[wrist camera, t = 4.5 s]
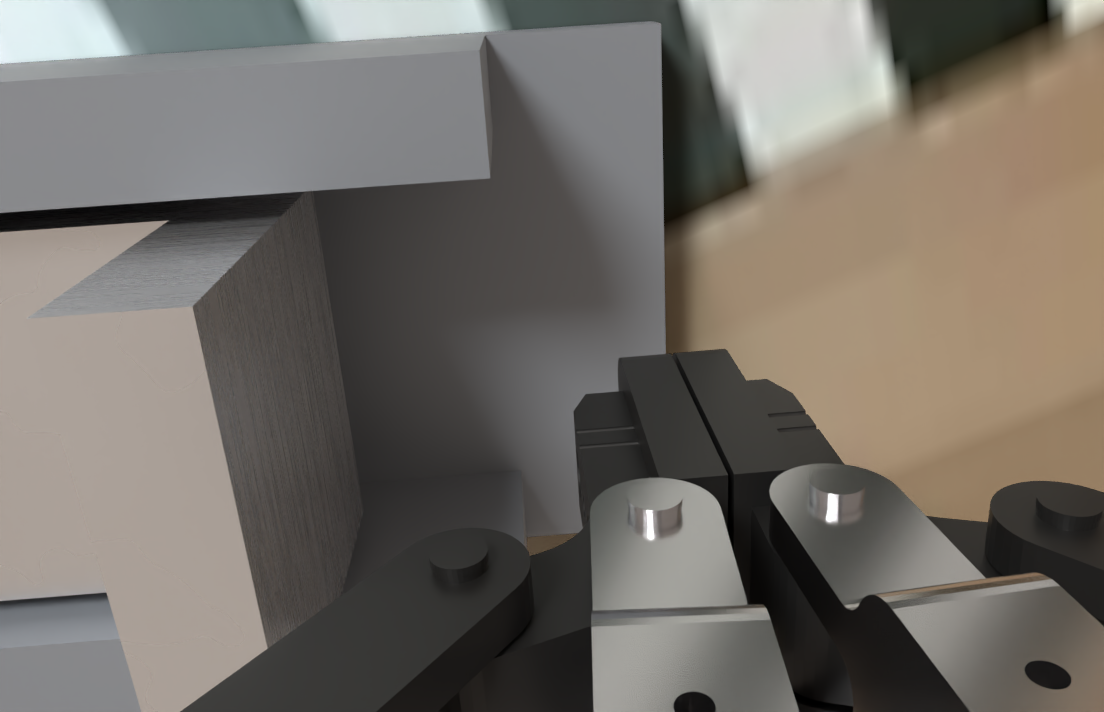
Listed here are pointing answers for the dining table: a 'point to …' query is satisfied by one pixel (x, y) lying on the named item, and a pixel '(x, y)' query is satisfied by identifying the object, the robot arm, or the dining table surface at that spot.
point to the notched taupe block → (175, 427)
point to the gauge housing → (386, 260)
